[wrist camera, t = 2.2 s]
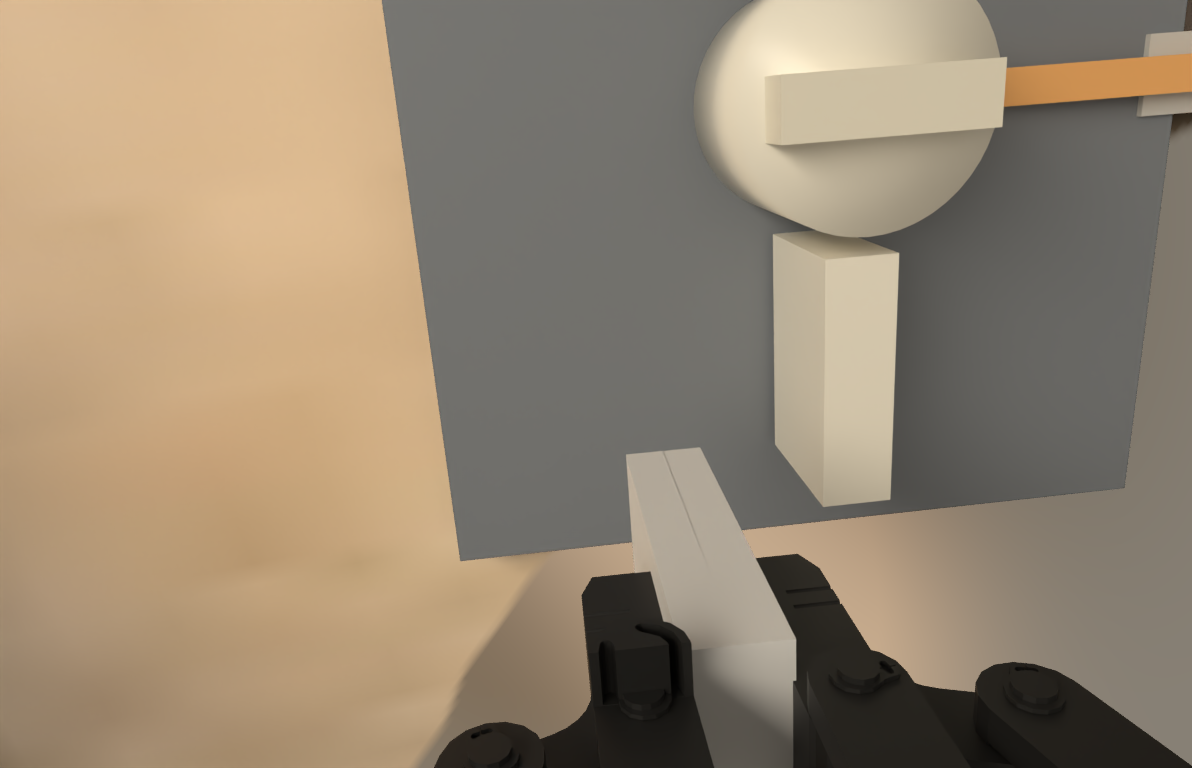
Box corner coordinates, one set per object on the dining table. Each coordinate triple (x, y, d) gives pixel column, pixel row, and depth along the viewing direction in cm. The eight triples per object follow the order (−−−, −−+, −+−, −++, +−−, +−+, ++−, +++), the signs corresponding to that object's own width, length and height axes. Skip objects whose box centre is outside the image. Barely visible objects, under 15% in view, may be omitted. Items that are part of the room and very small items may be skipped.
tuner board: (463, 538, 29) (460, 564, 27) (329, -438, 20) (312, -485, 19) (1152, 463, 30) (1189, 483, 28) (1283, -475, 22) (1344, -522, 20)
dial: (706, 447, 27) (759, 543, 21) (689, -8, 23) (749, -48, 17) (1179, 398, 28) (1359, 476, 22) (1244, -47, 24) (1487, -99, 18)
